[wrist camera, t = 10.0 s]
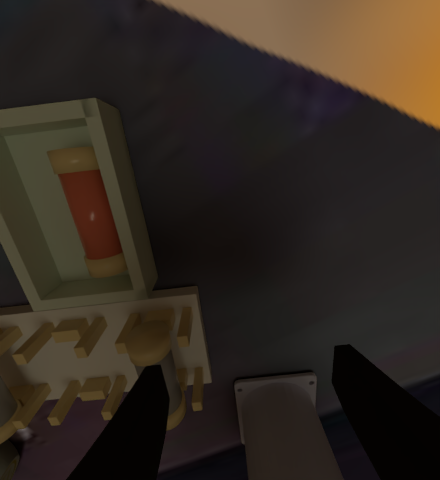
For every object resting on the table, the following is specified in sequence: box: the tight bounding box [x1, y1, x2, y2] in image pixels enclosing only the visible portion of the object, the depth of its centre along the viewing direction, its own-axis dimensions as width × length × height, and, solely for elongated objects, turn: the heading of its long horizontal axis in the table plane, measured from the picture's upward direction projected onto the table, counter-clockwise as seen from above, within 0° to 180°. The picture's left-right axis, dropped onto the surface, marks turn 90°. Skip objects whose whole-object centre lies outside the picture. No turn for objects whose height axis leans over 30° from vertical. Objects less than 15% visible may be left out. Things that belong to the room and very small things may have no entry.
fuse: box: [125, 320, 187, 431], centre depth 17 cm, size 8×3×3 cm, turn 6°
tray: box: [0, 98, 158, 311], centre depth 15 cm, size 12×8×3 cm, turn 6°
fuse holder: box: [0, 286, 212, 429], centre depth 19 cm, size 10×20×4 cm, turn 96°
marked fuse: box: [47, 147, 128, 278], centre depth 14 cm, size 8×3×3 cm
